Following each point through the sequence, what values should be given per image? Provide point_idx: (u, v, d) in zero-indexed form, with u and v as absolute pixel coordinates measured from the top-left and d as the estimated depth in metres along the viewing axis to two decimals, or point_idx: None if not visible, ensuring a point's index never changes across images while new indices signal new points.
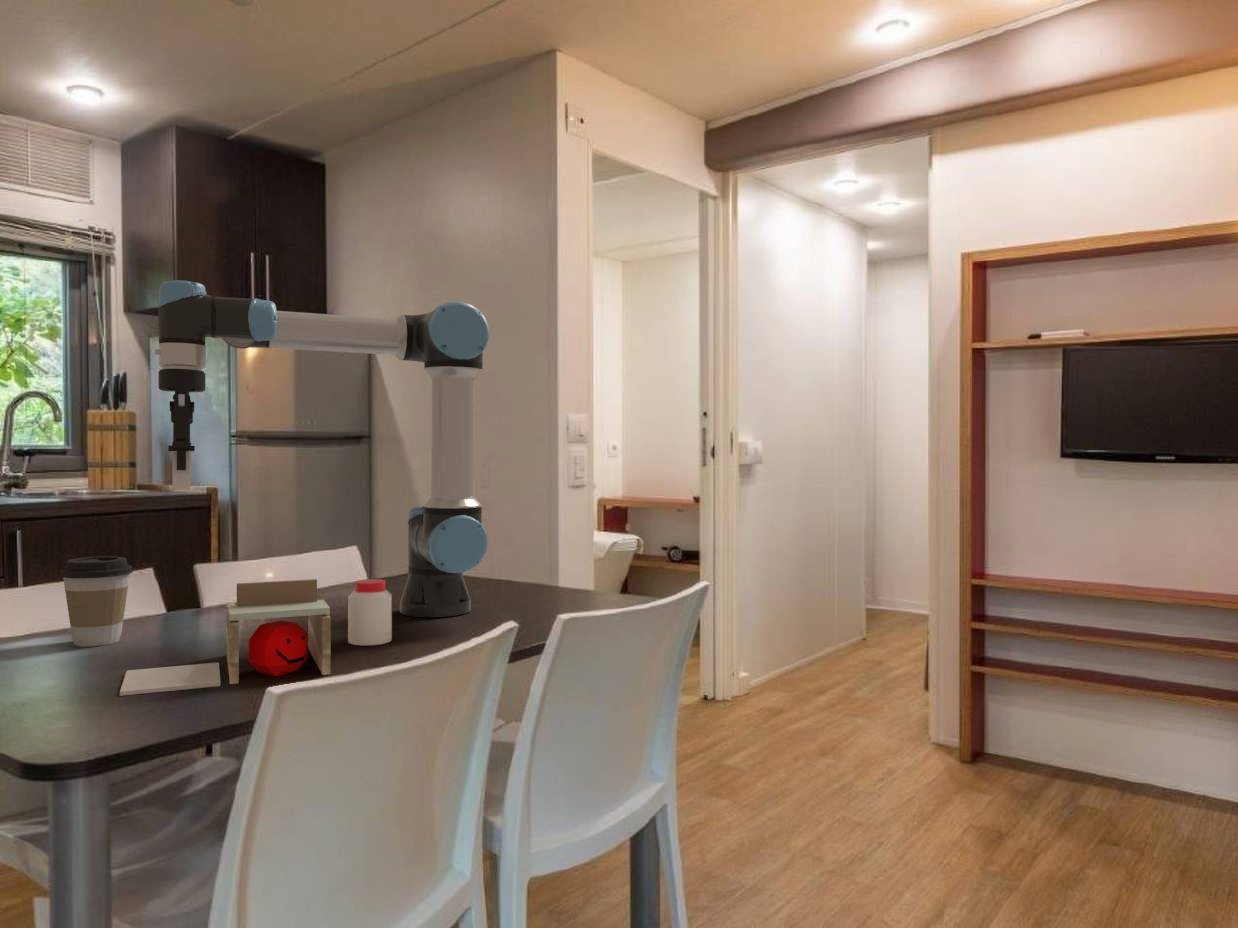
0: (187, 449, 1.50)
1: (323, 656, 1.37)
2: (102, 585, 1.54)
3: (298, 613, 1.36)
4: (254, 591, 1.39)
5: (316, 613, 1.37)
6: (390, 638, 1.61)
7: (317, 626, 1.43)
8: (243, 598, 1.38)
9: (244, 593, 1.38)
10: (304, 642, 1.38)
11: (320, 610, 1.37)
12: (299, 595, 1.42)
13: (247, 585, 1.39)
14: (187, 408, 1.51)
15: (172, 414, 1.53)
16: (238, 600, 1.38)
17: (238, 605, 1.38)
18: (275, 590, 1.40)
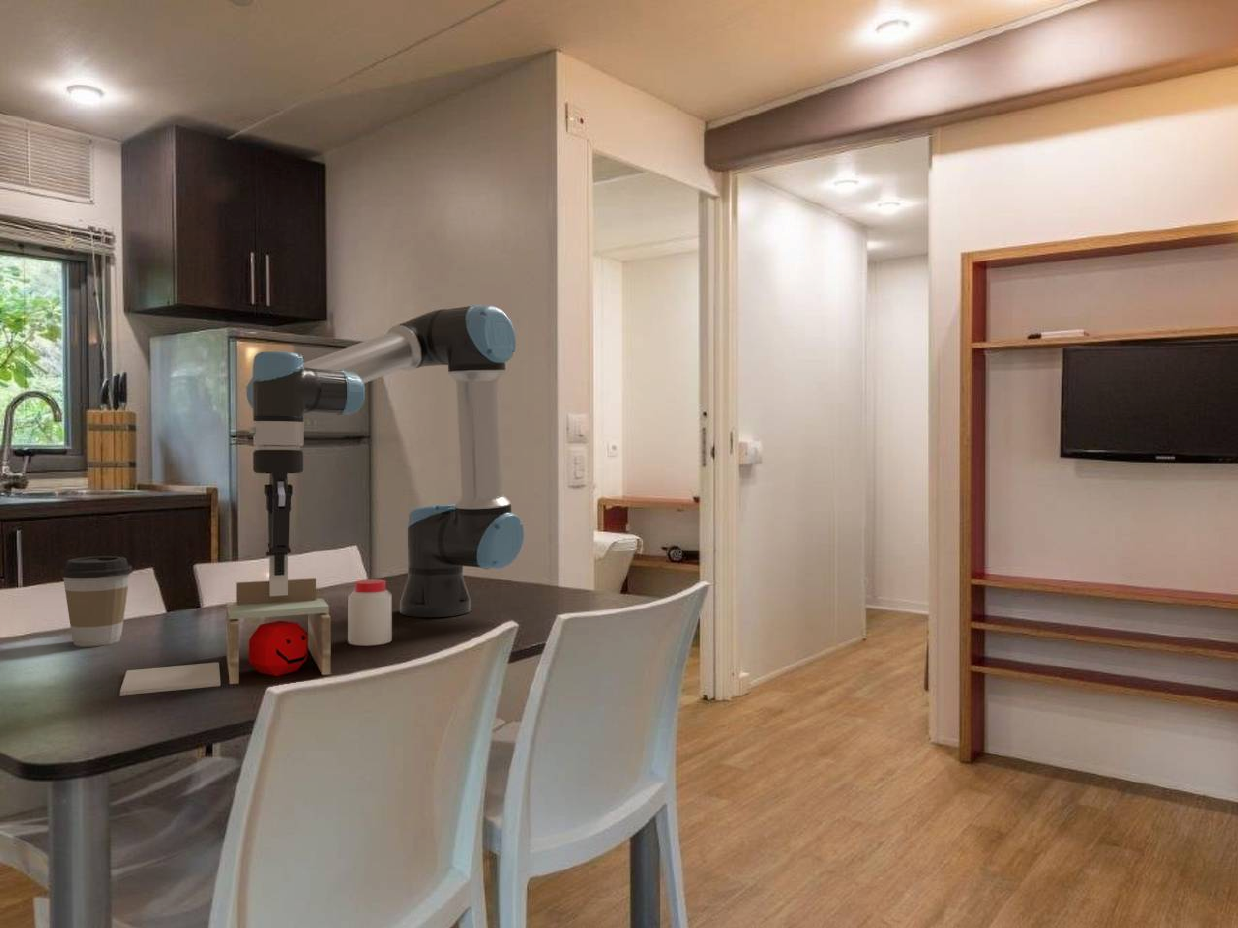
0: (285, 554, 1.40)
1: (323, 656, 1.37)
2: (102, 585, 1.54)
3: (297, 612, 1.37)
4: (254, 590, 1.40)
5: (315, 612, 1.38)
6: (390, 638, 1.61)
7: (317, 626, 1.43)
8: (242, 596, 1.40)
9: (244, 592, 1.40)
10: (304, 642, 1.38)
11: (319, 608, 1.38)
12: (298, 594, 1.43)
13: (247, 584, 1.40)
14: (287, 509, 1.37)
15: (269, 507, 1.39)
16: (238, 599, 1.39)
17: (238, 604, 1.39)
18: None
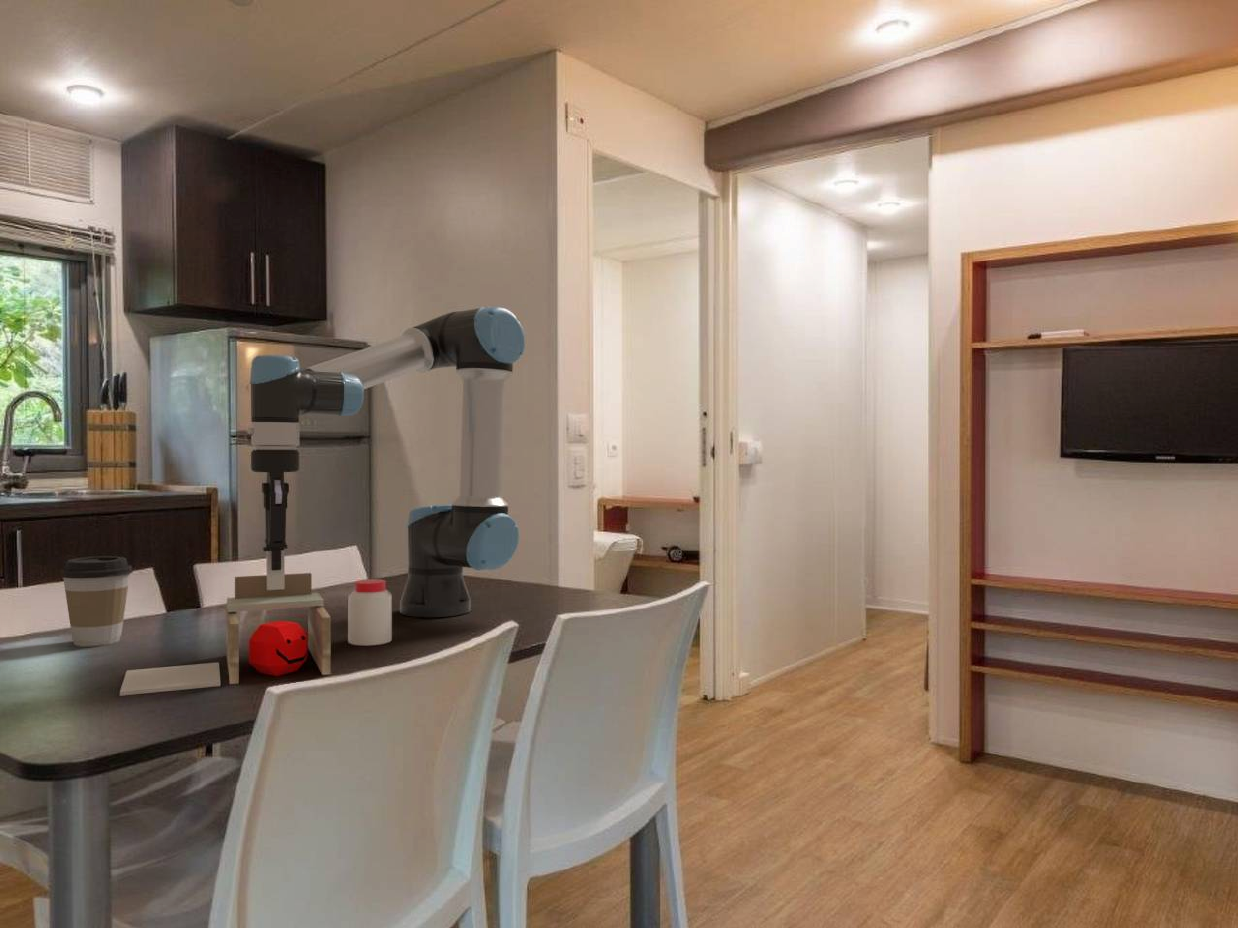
0: (282, 550, 1.46)
1: (323, 656, 1.37)
2: (102, 585, 1.54)
3: (293, 605, 1.43)
4: (251, 584, 1.46)
5: (310, 605, 1.44)
6: (390, 638, 1.61)
7: (317, 626, 1.43)
8: (240, 590, 1.45)
9: (242, 586, 1.46)
10: (304, 642, 1.38)
11: (314, 602, 1.44)
12: (294, 588, 1.49)
13: (245, 578, 1.46)
14: (284, 507, 1.43)
15: (266, 504, 1.44)
16: (236, 593, 1.45)
17: (236, 597, 1.45)
18: None
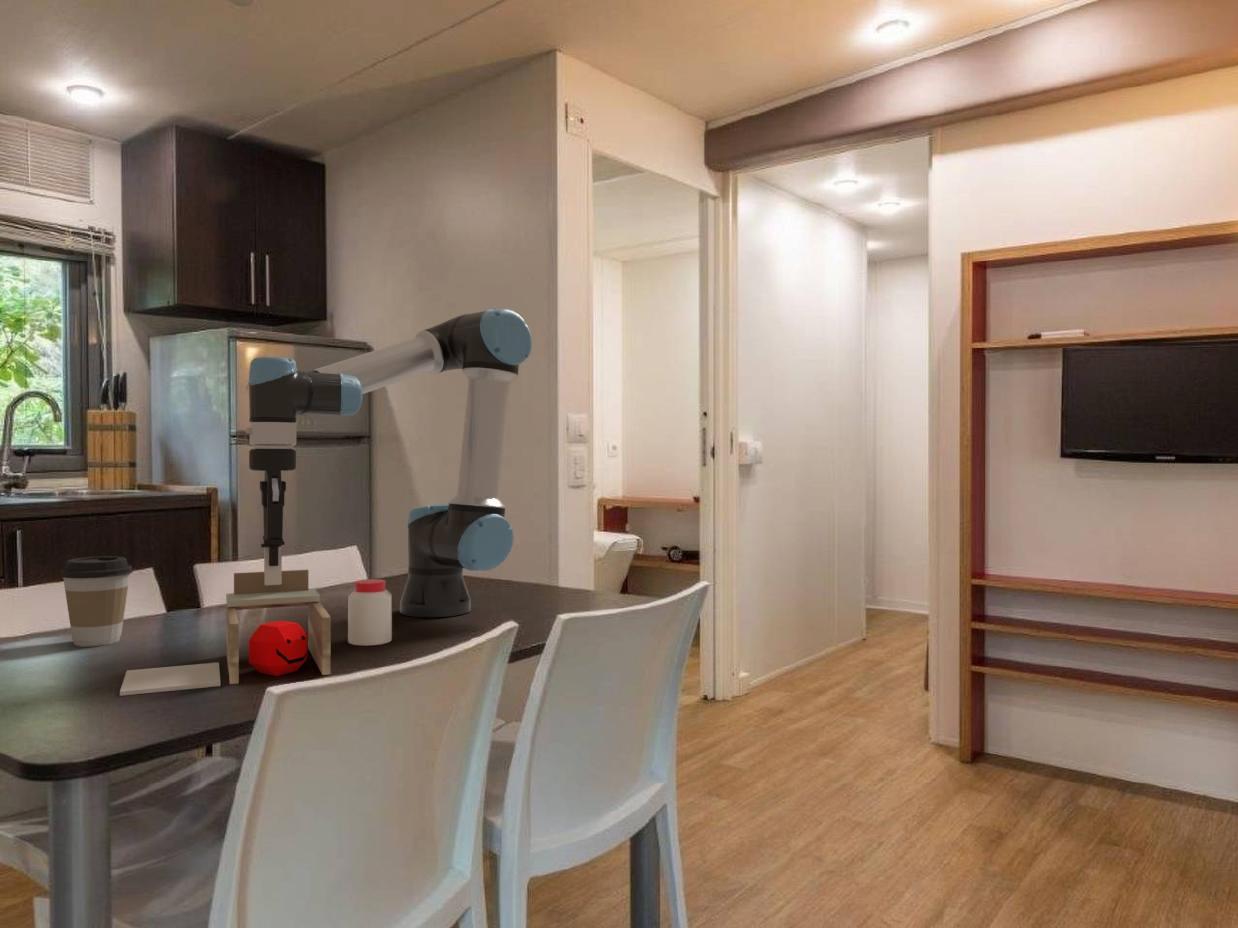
0: (279, 546, 1.50)
1: (323, 656, 1.37)
2: (102, 585, 1.54)
3: (290, 600, 1.47)
4: (250, 580, 1.50)
5: (307, 600, 1.48)
6: (390, 638, 1.61)
7: (317, 626, 1.43)
8: (239, 586, 1.50)
9: (241, 582, 1.50)
10: (304, 642, 1.38)
11: (311, 597, 1.49)
12: (292, 584, 1.53)
13: (243, 574, 1.50)
14: (281, 504, 1.47)
15: (264, 502, 1.49)
16: (235, 588, 1.49)
17: (235, 593, 1.49)
18: None
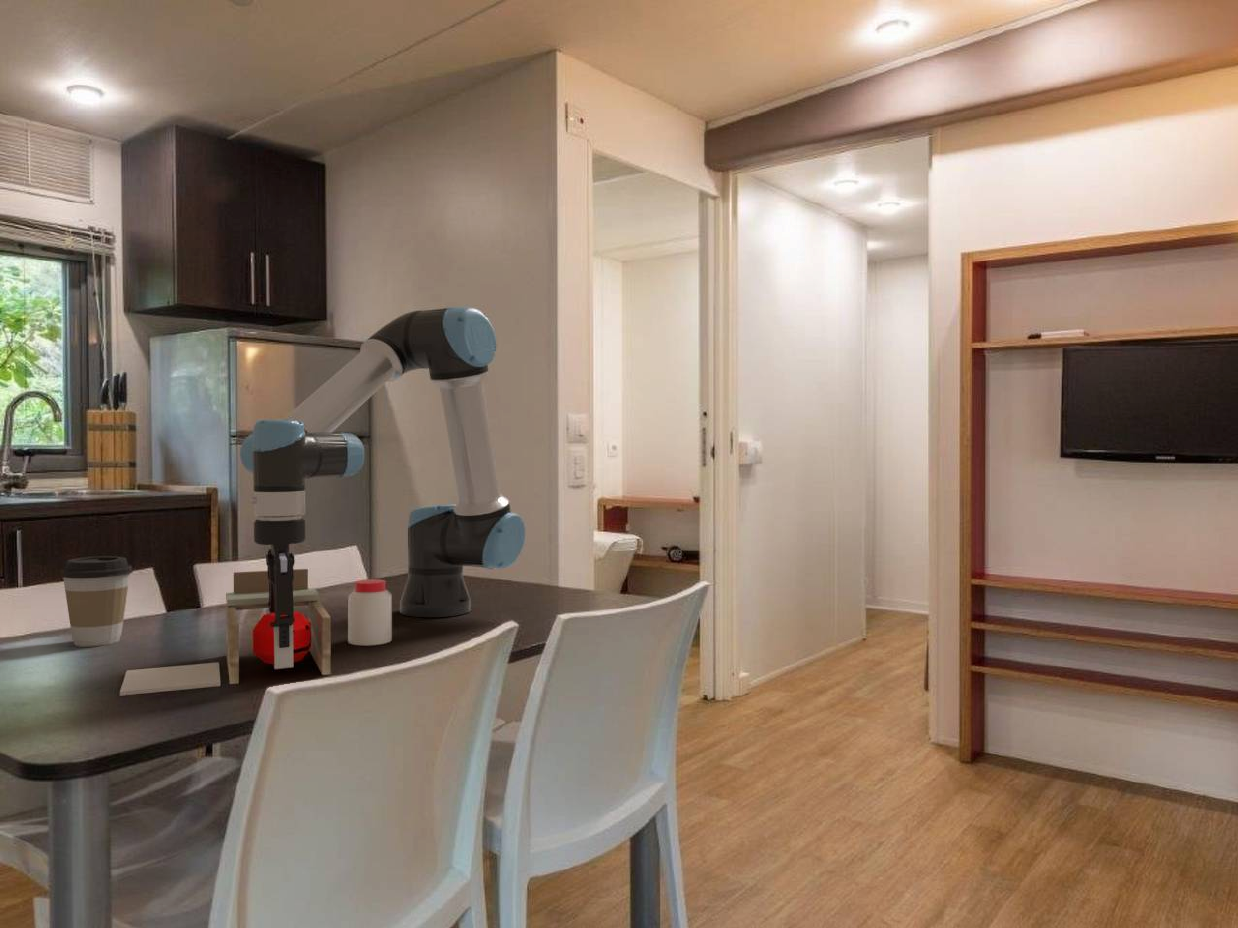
0: (290, 624, 1.33)
1: (323, 656, 1.37)
2: (102, 585, 1.54)
3: None
4: (250, 579, 1.51)
5: (306, 599, 1.49)
6: (390, 638, 1.61)
7: (317, 626, 1.43)
8: (239, 585, 1.51)
9: (240, 581, 1.51)
10: (308, 632, 1.38)
11: (310, 596, 1.50)
12: None
13: (243, 574, 1.51)
14: (290, 575, 1.33)
15: (271, 576, 1.35)
16: (235, 587, 1.50)
17: (235, 592, 1.50)
18: None
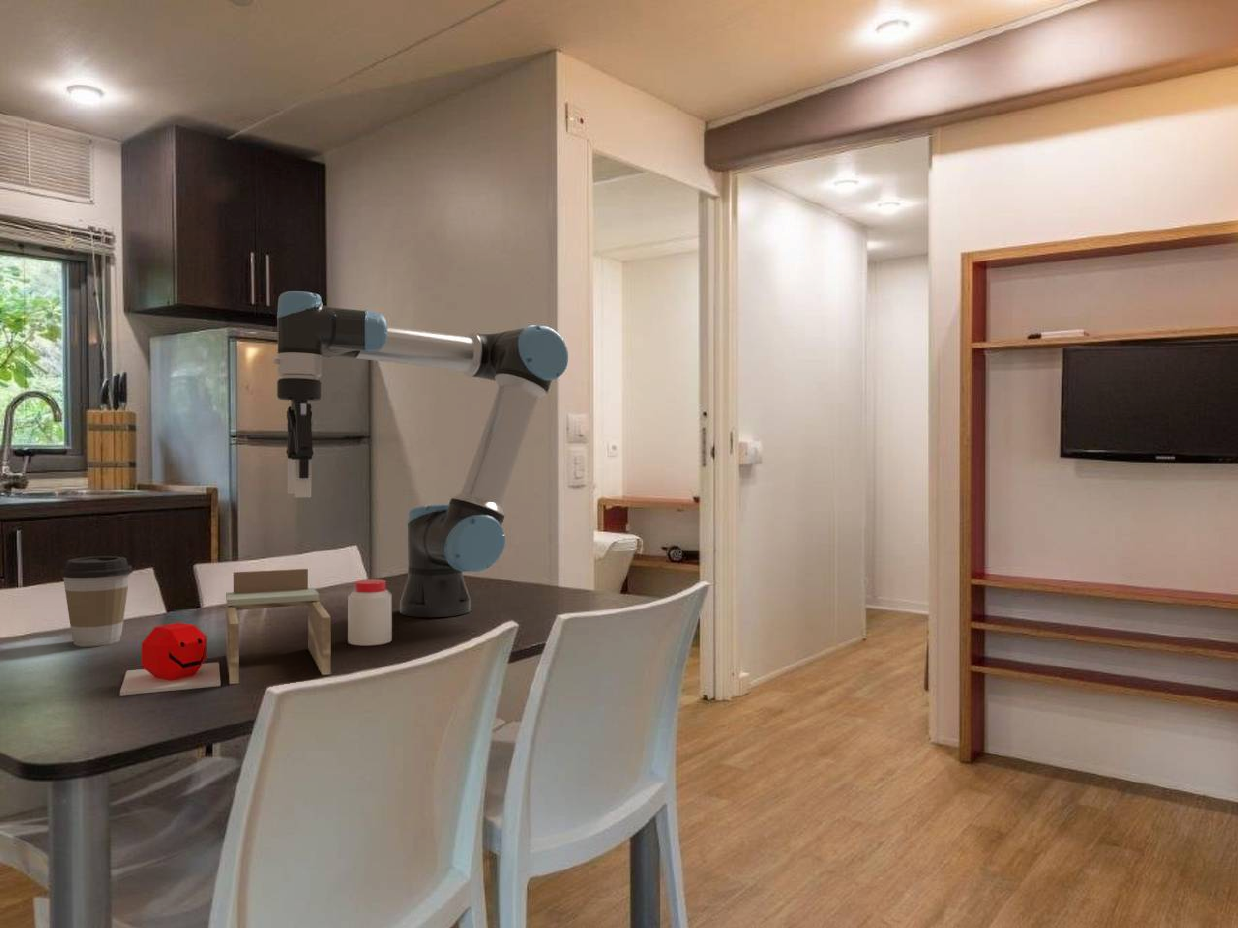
0: (310, 457, 1.52)
1: (323, 656, 1.37)
2: (102, 585, 1.54)
3: (290, 599, 1.48)
4: (250, 579, 1.51)
5: (306, 599, 1.49)
6: (390, 638, 1.61)
7: (317, 626, 1.43)
8: (239, 585, 1.51)
9: (240, 581, 1.51)
10: (201, 645, 1.32)
11: (310, 596, 1.50)
12: (291, 583, 1.54)
13: (243, 574, 1.51)
14: (309, 417, 1.53)
15: (292, 423, 1.55)
16: (235, 587, 1.50)
17: (235, 592, 1.50)
18: (269, 578, 1.53)
